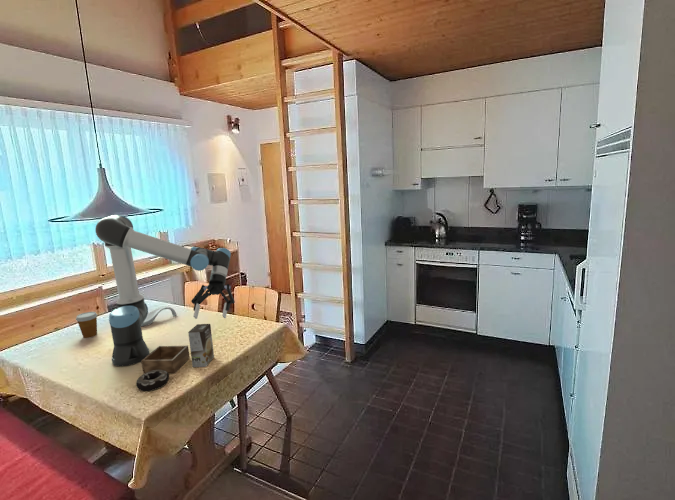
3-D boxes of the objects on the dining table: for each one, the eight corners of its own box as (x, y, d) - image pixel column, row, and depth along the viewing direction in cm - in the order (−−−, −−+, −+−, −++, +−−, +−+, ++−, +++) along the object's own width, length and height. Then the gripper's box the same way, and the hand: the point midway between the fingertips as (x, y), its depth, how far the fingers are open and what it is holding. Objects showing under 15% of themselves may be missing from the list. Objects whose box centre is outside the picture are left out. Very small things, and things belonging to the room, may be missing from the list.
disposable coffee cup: (75, 339, 193) (70, 317, 190) (90, 331, 202) (87, 311, 199) (89, 340, 190) (85, 318, 188) (105, 332, 199) (101, 311, 197)
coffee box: (206, 367, 156) (202, 331, 153) (192, 367, 157) (187, 332, 154) (214, 356, 165) (210, 323, 162) (200, 357, 166) (196, 323, 163)
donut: (173, 375, 151) (171, 366, 151) (164, 391, 140) (163, 381, 139) (143, 378, 150) (141, 369, 149) (132, 394, 138) (130, 385, 138)
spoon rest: (137, 330, 201) (135, 318, 199) (129, 325, 208) (127, 313, 207) (179, 317, 218) (178, 305, 217) (170, 313, 226) (169, 302, 224)
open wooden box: (143, 373, 153) (141, 360, 152) (160, 358, 166) (159, 346, 165) (174, 373, 152) (172, 360, 151) (189, 357, 165) (188, 345, 164)
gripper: (245, 279, 182) (238, 319, 170) (196, 281, 184) (186, 320, 172) (240, 272, 176) (233, 313, 164) (190, 273, 178) (179, 314, 166)
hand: (209, 317), depth 168 cm, fingers open, 13 cm apart
